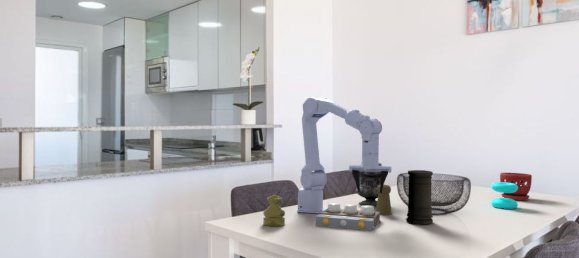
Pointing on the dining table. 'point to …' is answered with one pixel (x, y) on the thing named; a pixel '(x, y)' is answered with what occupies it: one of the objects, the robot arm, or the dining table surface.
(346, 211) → the middle button
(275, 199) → the olive green tiered piece
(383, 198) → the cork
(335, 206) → the left button
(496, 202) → the donuts
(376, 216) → the button board
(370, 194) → the apothecary jar
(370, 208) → the right button
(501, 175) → the plant pot
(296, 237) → the dining table surface
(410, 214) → the container
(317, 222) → the pattern card
